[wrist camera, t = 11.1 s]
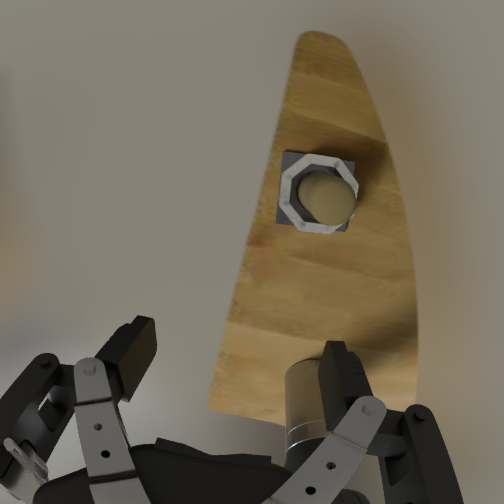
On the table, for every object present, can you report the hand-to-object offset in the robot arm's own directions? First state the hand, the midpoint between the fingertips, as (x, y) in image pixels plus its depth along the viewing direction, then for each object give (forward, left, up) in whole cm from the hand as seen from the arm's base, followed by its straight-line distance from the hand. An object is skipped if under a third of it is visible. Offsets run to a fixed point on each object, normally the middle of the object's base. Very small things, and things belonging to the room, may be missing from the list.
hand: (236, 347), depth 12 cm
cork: (+5, -7, -28) cm, 29 cm away
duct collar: (+5, -7, -28) cm, 29 cm away
